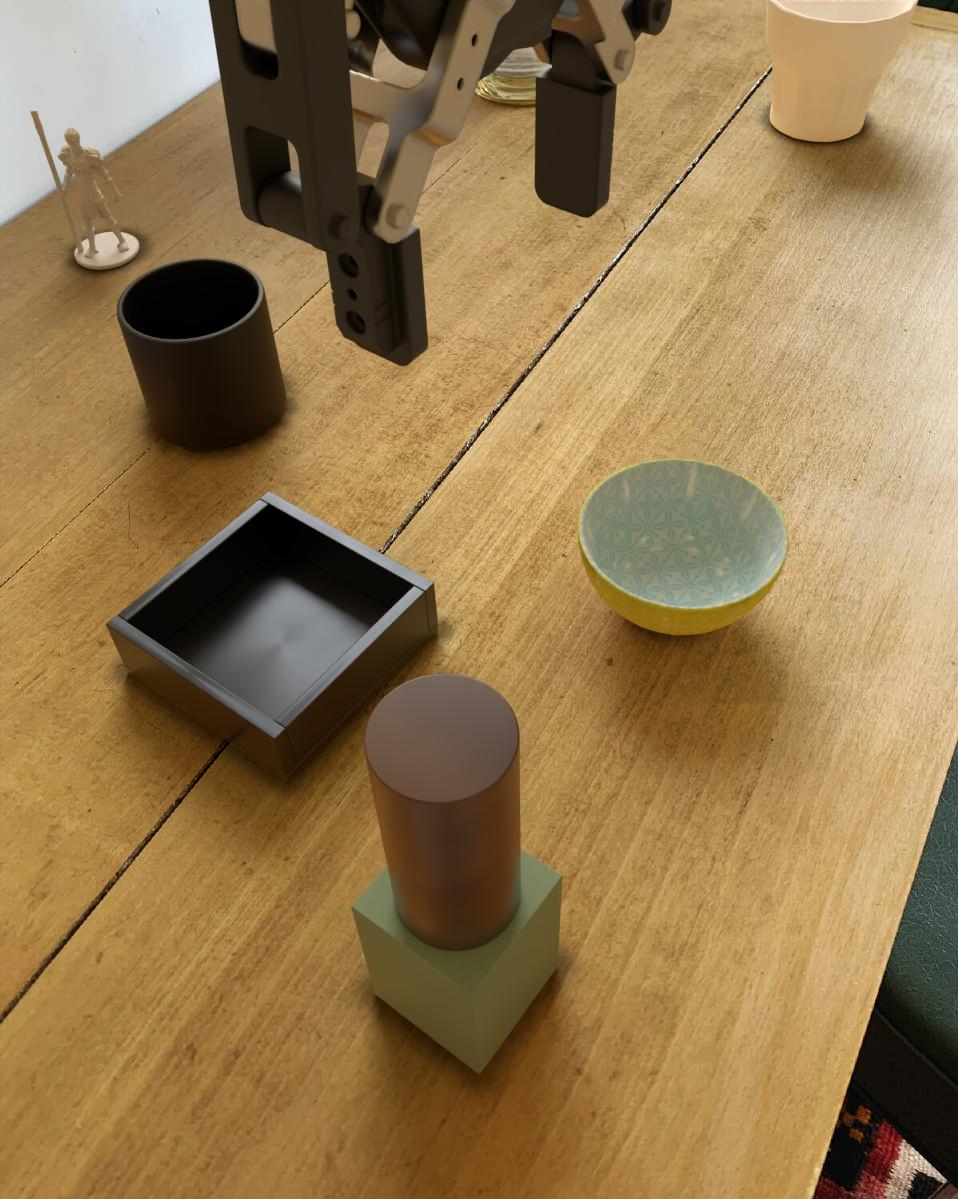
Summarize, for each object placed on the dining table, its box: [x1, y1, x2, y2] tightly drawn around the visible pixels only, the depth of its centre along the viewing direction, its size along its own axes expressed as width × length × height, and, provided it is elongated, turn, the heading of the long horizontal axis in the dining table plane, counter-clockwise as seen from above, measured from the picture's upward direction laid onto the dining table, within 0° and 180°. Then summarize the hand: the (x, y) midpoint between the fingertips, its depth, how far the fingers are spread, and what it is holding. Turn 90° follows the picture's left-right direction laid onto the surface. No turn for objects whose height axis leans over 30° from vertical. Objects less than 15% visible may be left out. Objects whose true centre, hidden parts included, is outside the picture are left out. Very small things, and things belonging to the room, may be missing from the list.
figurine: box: [30, 108, 141, 271], centre depth 87 cm, size 5×5×12 cm
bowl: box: [577, 458, 790, 636], centre depth 63 cm, size 11×12×6 cm
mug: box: [116, 257, 287, 452], centre depth 75 cm, size 9×12×9 cm
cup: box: [765, 0, 919, 143], centre depth 98 cm, size 12×12×11 cm
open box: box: [105, 490, 440, 785], centre depth 62 cm, size 13×13×4 cm
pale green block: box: [350, 848, 564, 1075], centre depth 47 cm, size 6×6×9 cm
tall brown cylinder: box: [363, 672, 522, 951], centre depth 40 cm, size 5×5×11 cm
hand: (485, 273), depth 31 cm, fingers open, 8 cm apart
